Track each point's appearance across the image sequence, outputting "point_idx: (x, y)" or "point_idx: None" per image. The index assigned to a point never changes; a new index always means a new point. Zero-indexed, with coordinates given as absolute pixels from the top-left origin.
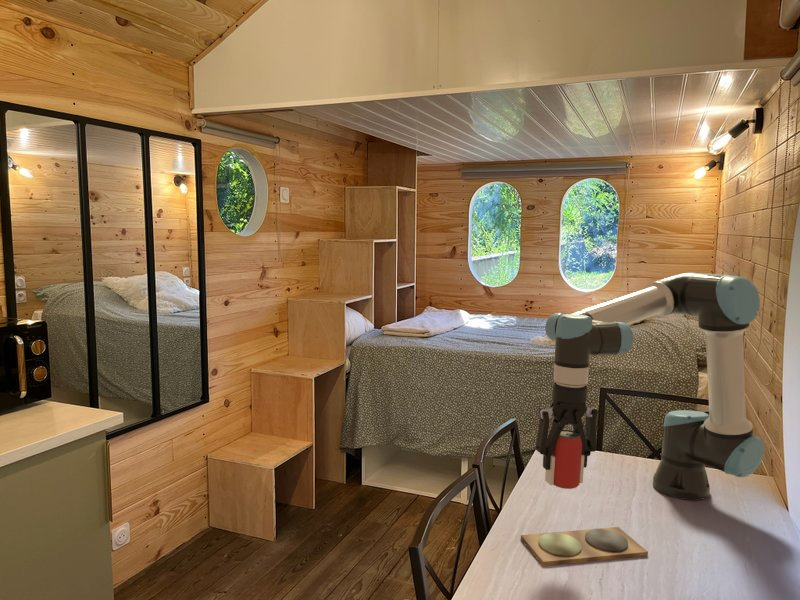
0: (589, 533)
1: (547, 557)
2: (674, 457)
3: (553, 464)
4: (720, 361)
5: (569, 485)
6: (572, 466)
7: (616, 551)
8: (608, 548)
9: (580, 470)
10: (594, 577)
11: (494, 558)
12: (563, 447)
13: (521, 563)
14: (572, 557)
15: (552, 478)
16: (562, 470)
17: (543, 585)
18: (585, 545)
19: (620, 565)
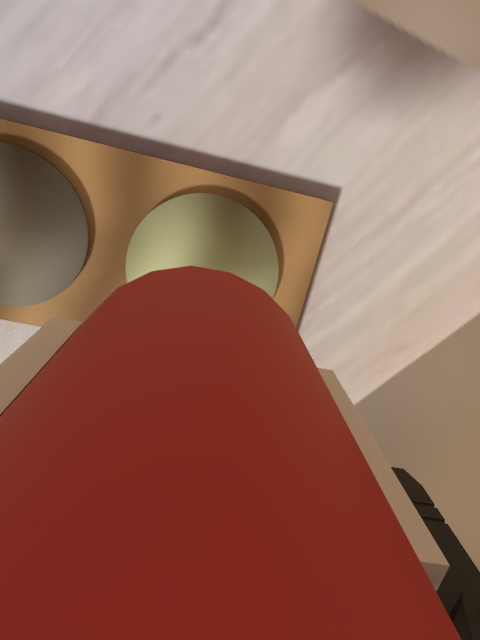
0: (46, 286)
1: (300, 220)
2: None
3: (378, 482)
4: None
5: (238, 278)
6: (227, 339)
7: (18, 146)
8: (45, 164)
9: (39, 371)
10: (211, 58)
11: (435, 301)
12: None
13: (381, 244)
14: (216, 182)
15: (334, 393)
16: (318, 373)
17: (414, 98)
18: (110, 234)
19: (55, 83)
